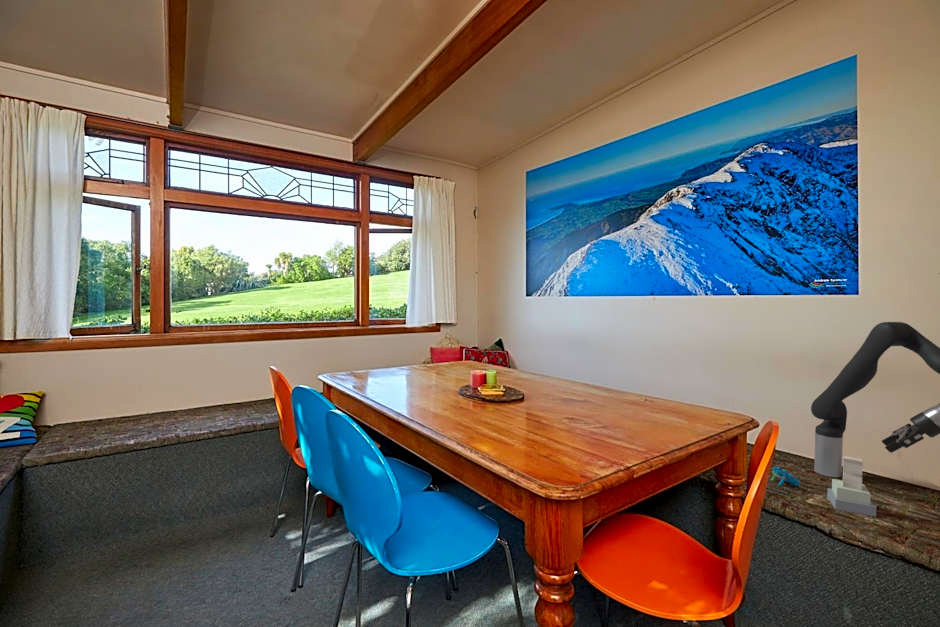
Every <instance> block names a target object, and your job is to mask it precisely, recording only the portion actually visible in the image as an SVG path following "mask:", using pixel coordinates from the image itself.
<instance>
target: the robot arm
mask: <svg viewBox="0 0 940 627" xmlns="http://www.w3.org/2000/svg"><path fill="white" fill-rule="evenodd" d="M891 347H903V348H905V349H907V350H910V351H912V352H913V353H915V354H916V355H918V357H919V356H920V358H921V359H922V360H923V361H924V363H926V365H927V366H928V367H929V368H930V369H931V370H933V371H934V372H935V373H936V374H938V375H940V347H939V346H938V345H936V344H935V343H934V342H933V341H931V340H930V339H928V338H927V337H925V335H923V334H922V333H921V332H920V331H918V329H917V330H916V329H915V328H914V327H913V326H912V325H910V324H908V323H906V322H903V321H886V322H885V321H883V322H879V323H877V324H876V325H875V326H873V328H872V329H871V330H870V332H869V333H868V335H867V336H866V338H865V340H864V342H863V343H862V344H861V346H860V348H859V349H858V350H857V351H856V353H854V355H853V357H852V358H851V359H850V360H849V361H848V362H847V364H846V365H845V366H844V367H843V368H842V370H840V372H839V373H838V375H837V376H836V377H835V378H834V379H833V381H832V382H831V383H830V384H829V385H828V386H827V388H826V389H825V390H824V391H822V392H821V394H819V395H818V396H817V398H815V399H814V400H813V401H812V404H811V406H810V410H811V414H812V416H813V417H815V418H816V419H819V420H822V422H821V423H819V424H818V425H816V426H815V427H814V428H815V429H814V430H815V432H814V434H815V435H814V463H813V466H814V467H813V472H815V473H817V474H819V475H821V476H825V477H830V478H841V477H843V444H844V440H843V439H844V437H843V436H844V433H845V431H846V429H847V428H846V427H847V418H848V409H847V406H846V404H845V403H844V400H845V399H847V398H848V397H850V396H852V395H854V394H855V393H857V392H859V391H861V390H862V389H864V388H865V387H866V386H868V384H869V383H870V382H871V381H872V380H873V379H874V378H875V376H876V375H877V372H878V362H879V360H880V358H881V356H883V355H884V353H885V352H886V351H888V349H889V348H891ZM909 421H910V422H911V423H912V424H911V423H906V424H905V425H903V426H901V427H899V428H897V429H895V430H893V431H892V432H891V434H890V436H888V437H885V438H883V439H882V440H881V443H882V444H884V445H885V449H886V451H888V452H889V453H890V454H891V453H894V452H896V451H898V450H900V449H901V448H905V449H908V448H909V447H911V446H913V445H915V444H917V443H918V442H920V441H922V440H924V439H925V436H923V435H927V437H929V438H935V437H937V436H939V435H940V402H939V403H937V404H936V405H932V406H930V407H928V408H927V409H924V410H923V411H921V412H919V413H917V414H916V415H914V416H912V417H910V419H909Z"/></svg>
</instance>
